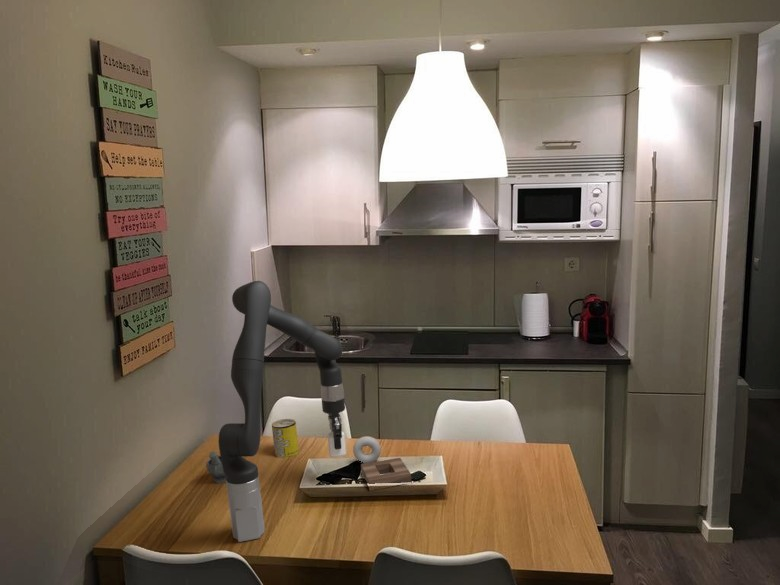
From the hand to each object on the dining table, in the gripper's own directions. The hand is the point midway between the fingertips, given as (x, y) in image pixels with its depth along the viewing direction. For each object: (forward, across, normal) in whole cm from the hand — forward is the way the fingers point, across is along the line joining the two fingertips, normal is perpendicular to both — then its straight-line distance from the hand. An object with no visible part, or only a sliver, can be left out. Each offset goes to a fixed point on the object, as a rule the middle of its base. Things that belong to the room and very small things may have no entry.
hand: (337, 446), depth 225 cm
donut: (+13, -12, +12) cm, 21 cm away
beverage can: (+12, -34, -15) cm, 39 cm away
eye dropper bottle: (+3, 0, 0) cm, 3 cm away
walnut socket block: (+13, +3, +15) cm, 20 cm away
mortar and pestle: (+13, -18, -39) cm, 45 cm away
